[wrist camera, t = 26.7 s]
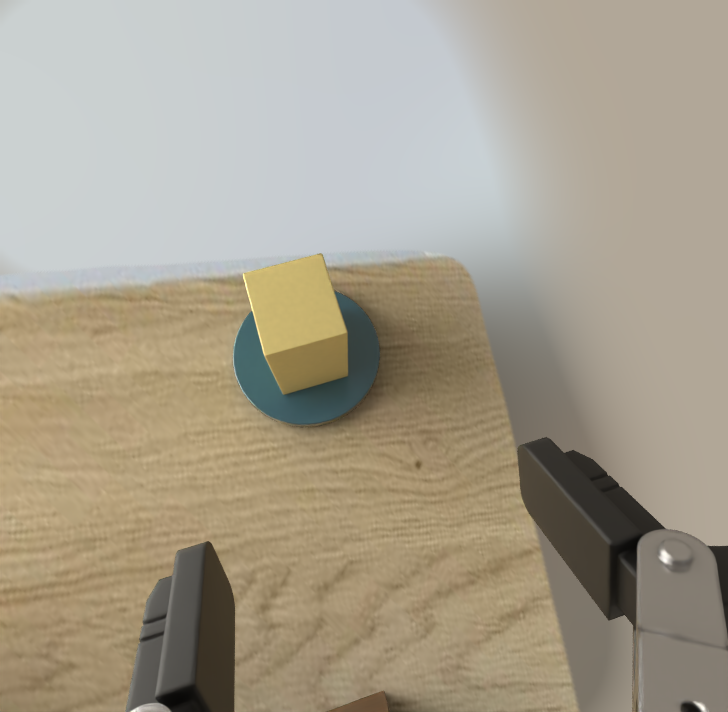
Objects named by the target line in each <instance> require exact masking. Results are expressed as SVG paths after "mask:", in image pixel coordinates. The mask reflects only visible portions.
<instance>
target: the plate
mask: <svg viewBox="0 0 728 712" xmlns="http://www.w3.org/2000/svg"><path fill="white" fill-rule="evenodd" d="M334 292H335V295H336V298H337V301H338V304H339V307H340V310H341V314H342V317H343V320H344V323H345V326H346V329H347V333H348V376H347V377H343V378H340V379H336V380H333V381H330V382H326V383H323V384H319V385H316V386H312V387H309V388H306V389H302V390H299V391H295V392H292V393H288V394H285V395H283V393H282V391H281V389H280V387H279V385H278V383H277V381H276V379H275V377H274V375H273V373H272V371H271V369H270V366H269V364H268V362H267V360H266V358H265V356H264V353H263V349H262V345H261V342H260V338H259V334H258V330H257V327H256V323H255V319H254V315H253V312H252V311H251V312H250V313H249V314H248V316H247V317H246V318H245V320H244V321H243V323H242V325H241V327H240V329H239V331H238V333H237V336H236V339H235V343H234V348H233V366H234V371H235V376H236V378H237V381H238V384H239V386H240V388H241V390H242V392H243V393H244V394H245V396H246V397H247V398H248V400H249V401H250V402H251V403H252V405H253V406H254V407H255V408H256V409H257V410H259V411H260V412H261V413H263V414H264V415H265V416H267V417H269V418H270V419H272V420H275V421H277V422H279V423H282V424H286V425H289V426H296V427H315V426H322V425H325V424H329V423H332V422H334V421H337V420H339V419H341V418H343V417H344V416H346V415H348V414H349V413H350V412H352V411H353V410H354V409H356V408H357V407H358V406H359V405H360V404H361V403H362V401H363V400H364V399H365V398H366V396H367V395H368V393H369V392H370V390H371V388H372V386H373V384H374V382H375V379H376V376H377V372H378V367H379V360H380V347H379V341H378V337H377V333H376V330H375V328H374V326H373V324H372V322H371V320H370V319H369V317H368V316H367V314H366V313H365V312H364V311H363V310H362V308H361V307H359V306H358V305H357V304H356V303H355V302H354V301H352V300H351V299H350V298H348V297H346V296H344V295H343V294H341V293H338V292H336V291H334Z"/></svg>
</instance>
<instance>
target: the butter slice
mask: <svg viewBox="0 0 728 712" xmlns="http://www.w3.org/2000/svg"><path fill="white" fill-rule="evenodd" d="M243 278H244V281H245V285H246V289H247V293H248V296H249V300H250V304H251V308H252V312H253V315H254V319H255V323H256V327H257V330H258V334H259V338H260V342H261V345H262V349H263V353H264V356H265V358H266V360H267V362H268V364H269V366H270V369H271V371H272V373H273V375H274V377H275V379H276V381H277V383H278V385H279V387H280V389H281V391H282V393H283V395H285V394H288V393H292V392H295V391H299V390H302V389H306V388H309V387H312V386H316V385H319V384H323V383H326V382H330V381H333V380H336V379H340V378H343V377H347V376H348V333H347V329H346V326H345V323H344V320H343V317H342V314H341V310H340V307H339V304H338V301H337V298H336V295H335V292H334V289H333V286H332V283H331V280H330V276H329V273H328V270H327V267H326V264H325V261H324V258H323V255H322V253H320V254H316V255H312V256H309V257H305V258H301V259H297V260H293V261H289V262H286V263H282V264H278V265H274V266H270V267H266V268H262V269H259V270H255V271H251V272H247V273H244V274H243Z"/></svg>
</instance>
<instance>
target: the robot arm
mask: <svg viewBox="0 0 728 712" xmlns="http://www.w3.org/2000/svg"><path fill="white" fill-rule="evenodd" d="M517 452H518V465H519V477H520V489H521V495H522V499H523V502H524V504H525V506H526V508H527V510H528V512H529V514H530V515H531V517H532V518H533V519H534V521H535V522H536V523H537V525H538V526H539V527H540V529H541V530H542V531H543V533H544V534H545V536H546V537H547V538H548V539H549V541H550V542H551V543H552V545H553V546H554V548H555V549H556V550H557V552H558V553H559V554H560V556H561V557H562V558H563V560H564V561H565V562H566V564H567V565H568V566H569V568H570V569H571V570H572V572H573V573H574V574H575V576H576V577H577V579H578V580H579V581H580V583H581V584H582V585H583V587H584V588H585V589H586V591H587V592H588V593H589V595H590V596H591V597H592V599H593V600H594V601H595V603H596V604H597V605H598V607H599V608H600V610H601V611H602V612H603V613H604V615H605V616H606V618H607V619H608V620H612V619H615V618H617V617H620V616H623V615H625V616H626V617H627V618H628V620H629V621H630V622H631V623H632V625H633V683H632V684H633V685H632V687H633V688H632V690H633V691H632V712H728V546H706V545H705V544H704V543H703V542H702V541H700V540H699V539H697V538H695V537H694V536H692V535H689V534H687V533H684V532H681V531H677V530H668V529H665V528H664V527H663V526H662V525H661V524H660V523H659V522H658V521H657V520H656V519H655V518H654V517H653V516H652V515H651V514H650V513H649V512H647V510H645V509H644V508H643V507H642V506H641V505H640V504H639V503H638V502H637V501H636V500H635V499H634V498H633V497H632V496H631V495H629V493H628V492H627V491H625V490H624V489H623V488H622V487H620V486H619V484H618V483H617V482H616V481H615V480H614V479H613V478H612V477H611V476H608V475H607V472H606V471H604V470H603V469H602V468H601V467H600V466H599V465H598V464H597V463H596V462H595V461H594V460H593V459H591V458H589V457H586V456H585V455H582V454H580V453H578V452H576V451H574V450H572V451H569V452H566V453H563V452H562V451H561V450H560V448H559V447H557V445H555V443H554V442H553V441H552V440H551V439H549V438H547V437H545V438H542V439H538V440H535V441H532V442H529V443H526V444H523V445H520V446H519V447H518V451H517ZM139 640H140V643H139V644H138V649H137V654H136V659H135V664H134V670H133V675H132V680H131V685H130V690H129V695H128V701H127V706H126V710H125V712H234V673H235V604H234V597H233V593H232V589H231V586H230V583H229V581H228V578H227V576H226V574H225V572H224V570H223V567H222V565H221V563H220V561H219V559H218V556H217V554H216V552H215V550H214V548H213V546H212V544H211V543H210V542H209V541H207V542H204V543H201V544H197V545H194V546H191V547H188V548H185V549H181V550H178V551H177V553H176V557H175V563H174V570H173V576H170V577H166V578H163V579H160V580H159V581H158V583H157V584H156V586H155V588H154V589H153V591H152V593H151V594H150V596H149V598H148V600H147V602H146V607H145V612H144V618H143V626H142V628H141V633H140V638H139Z"/></svg>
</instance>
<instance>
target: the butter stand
mask: <svg viewBox="0 0 728 712" xmlns="http://www.w3.org/2000/svg"><path fill="white" fill-rule="evenodd" d="M327 712H390V710H389V706H388V703H387V699H386V695H385V692H384V691H381V692H378V693H376V694H373V695H370V696H368V697H365V698H362V699H359V700H357V701H354V702H351V703H349V704H346V705H343V706H341V707H338V708H335V709H333V710H330V711H327Z"/></svg>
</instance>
